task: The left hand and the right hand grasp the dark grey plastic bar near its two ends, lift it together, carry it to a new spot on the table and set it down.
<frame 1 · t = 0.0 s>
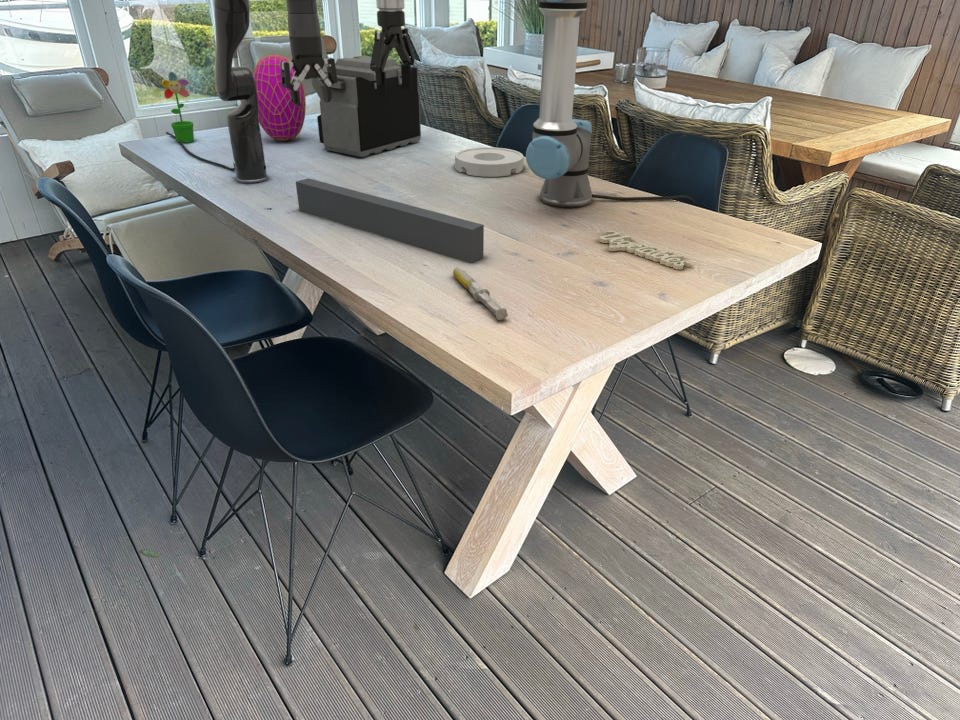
left hand: (312, 103, 174), 29 cm above the table, tool pointing down, fingers open, 8 cm apart
right hand: (394, 93, 197), 28 cm above the table, tool pointing down, fingers open, 13 cm apart
grey tool box: (371, 146, 258), on the table
potted flower: (186, 141, 261), on the table
decorative sign: (639, 252, 168), on the table
bar: (383, 232, 178), on the table
decorative egg: (284, 140, 265), on the table
ashtray: (489, 167, 233), on the table
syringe: (478, 297, 145), on the table
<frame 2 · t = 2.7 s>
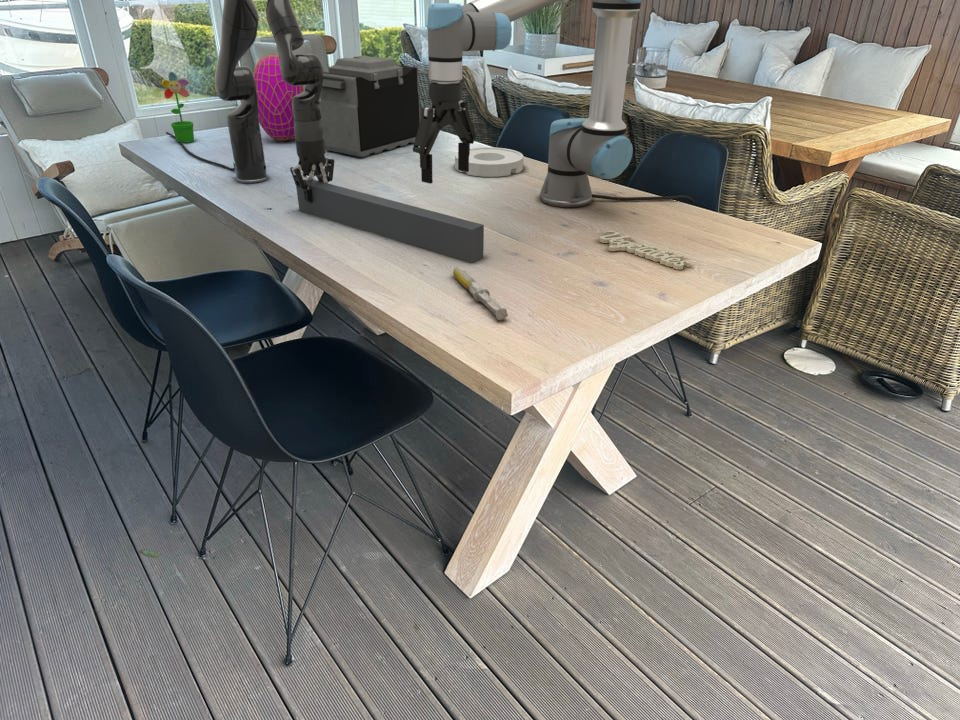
left hand: (316, 199, 190), 4 cm above the table, tool pointing down, fingers closed on bar, 4 cm apart
right hand: (445, 176, 164), 17 cm above the table, tool pointing down, fingers open, 13 cm apart
bar: (383, 232, 178), on the table, touching left hand
everything else where it was.
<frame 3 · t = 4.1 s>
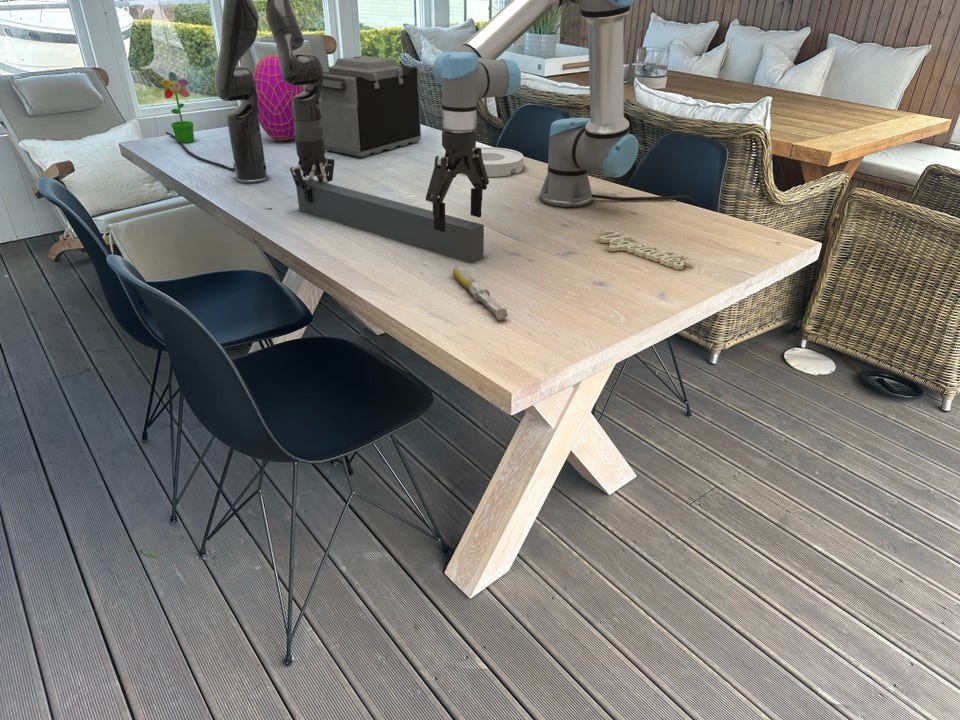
left hand: (316, 199, 190), 4 cm above the table, tool pointing down, fingers closed on bar, 4 cm apart
right hand: (458, 223, 161), 8 cm above the table, tool pointing down, fingers open, 13 cm apart
bar: (383, 232, 178), on the table, touching left hand
everything else where it was.
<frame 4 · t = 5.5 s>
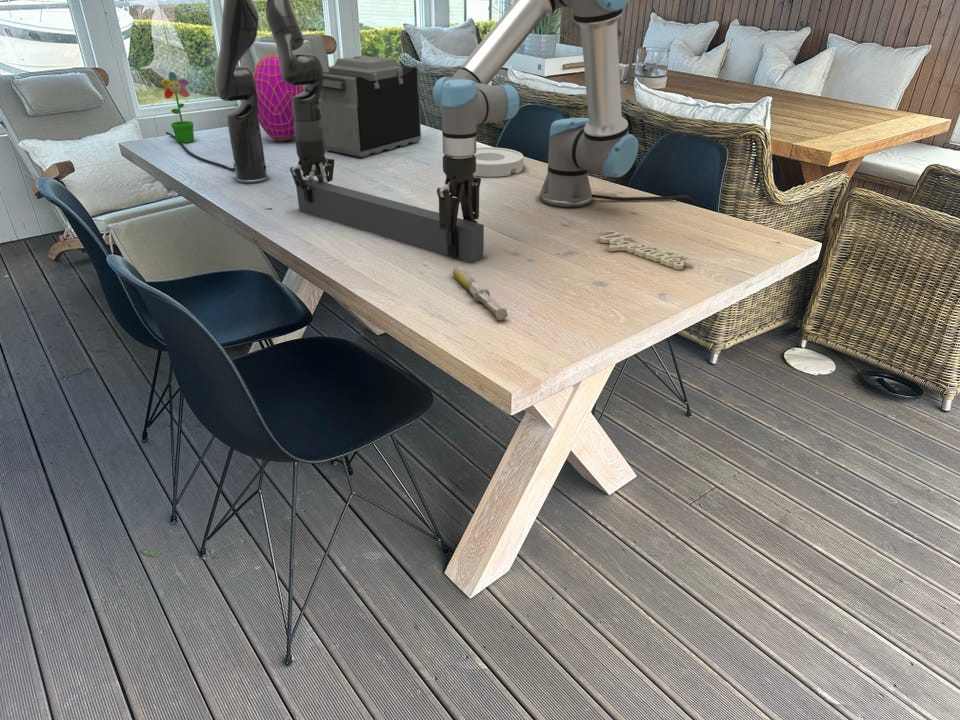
left hand: (316, 199, 190), 4 cm above the table, tool pointing down, fingers closed on bar, 4 cm apart
right hand: (459, 252, 165), 1 cm above the table, tool pointing down, fingers closed on bar, 4 cm apart
bar: (383, 232, 178), on the table, touching right hand, left hand
everything else where it was.
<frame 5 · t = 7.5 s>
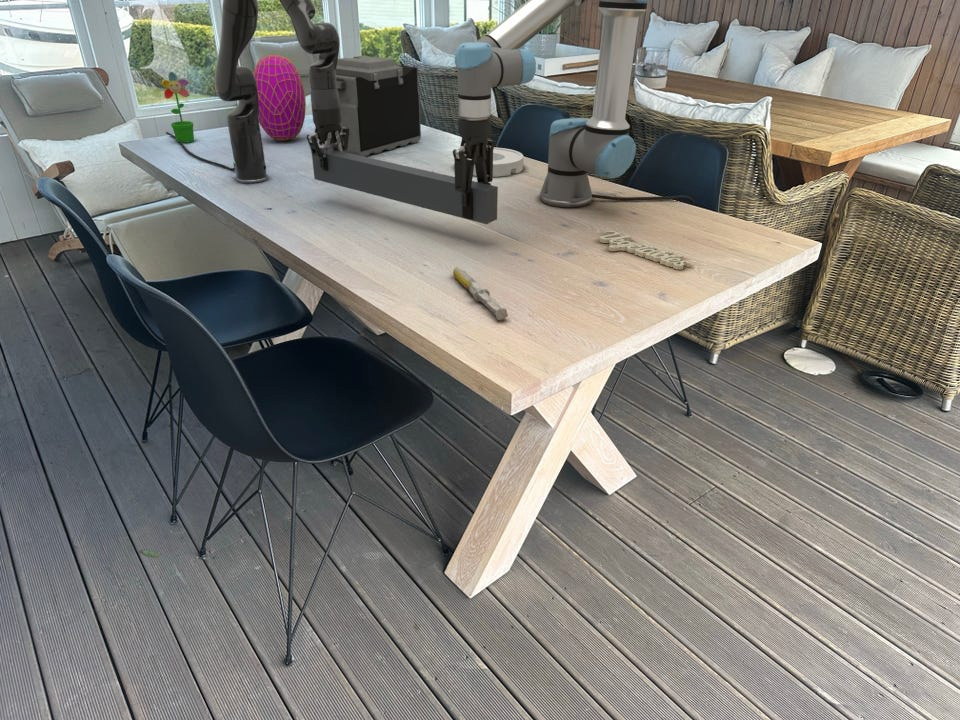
left hand: (331, 168, 194), 10 cm above the table, tool pointing down, fingers closed on bar, 4 cm apart
right hand: (474, 214, 169), 7 cm above the table, tool pointing down, fingers closed on bar, 5 cm apart
bar: (398, 197, 183), point 6 cm above the table, touching right hand, left hand
everything else where it was.
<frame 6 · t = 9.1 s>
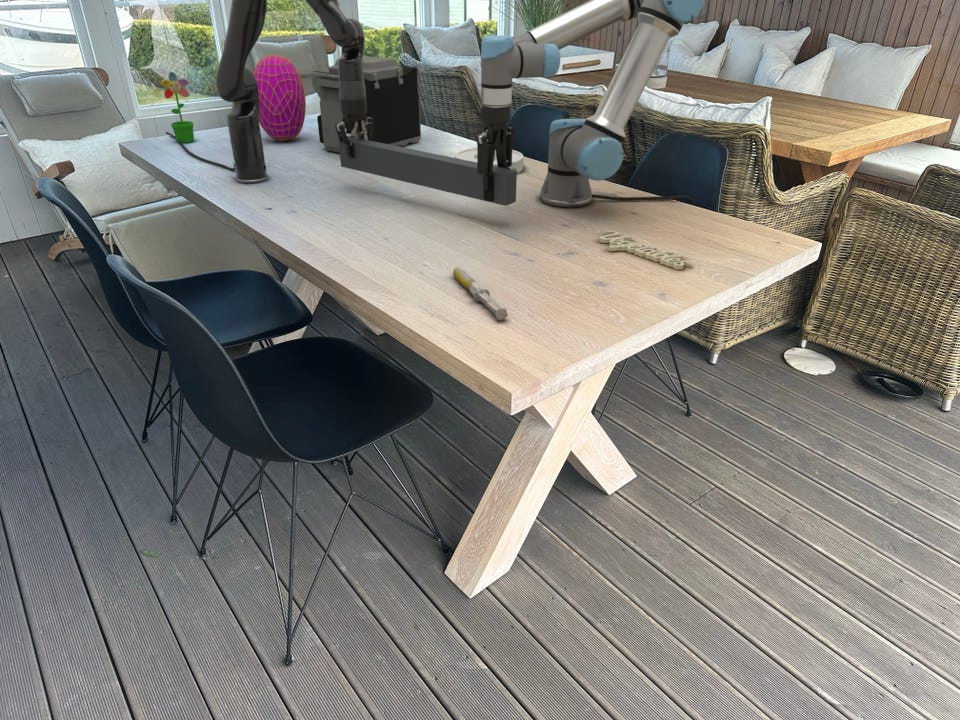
left hand: (357, 156, 205), 10 cm above the table, tool pointing down, fingers closed on bar, 4 cm apart
right hand: (494, 197, 181), 7 cm above the table, tool pointing down, fingers closed on bar, 4 cm apart
bar: (422, 182, 194), point 7 cm above the table, touching right hand, left hand
everything else where it was.
when the right hand's fingers open (2 cm above the table, at t = 10.0 s): bar drops 2 cm, on the table.
when the left hand's fingers open (5 cm above the table, at t = 10.1 s): bar stays where it is, on the table.
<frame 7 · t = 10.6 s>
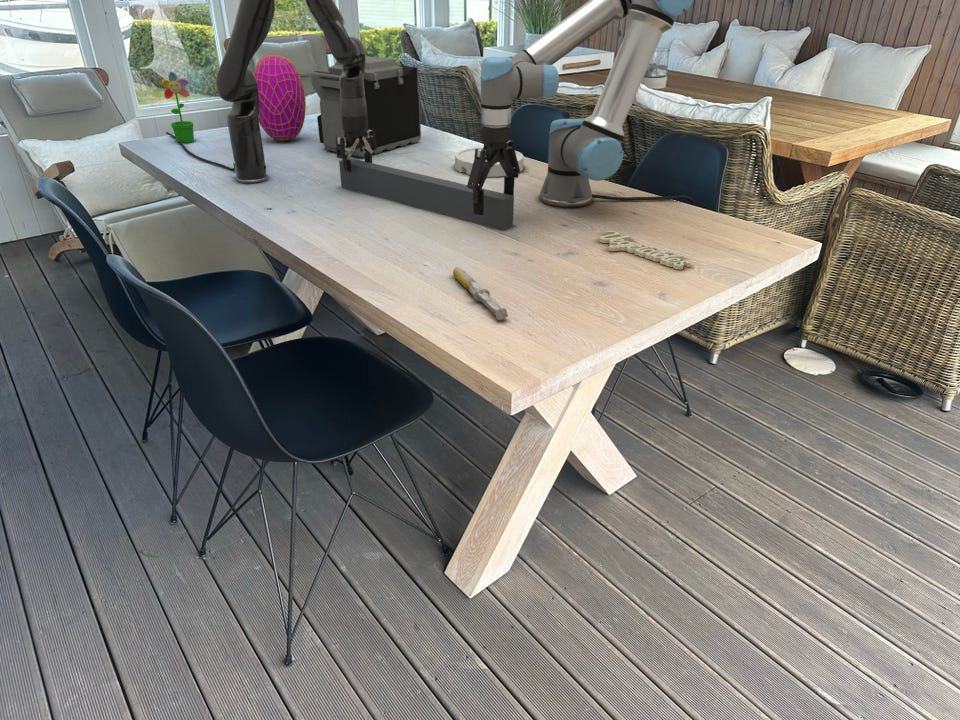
left hand: (358, 168, 208), 6 cm above the table, tool pointing down, fingers open, 8 cm apart
right hand: (493, 207, 182), 5 cm above the table, tool pointing down, fingers open, 13 cm apart
bar: (421, 205, 198), on the table
everything else where it was.
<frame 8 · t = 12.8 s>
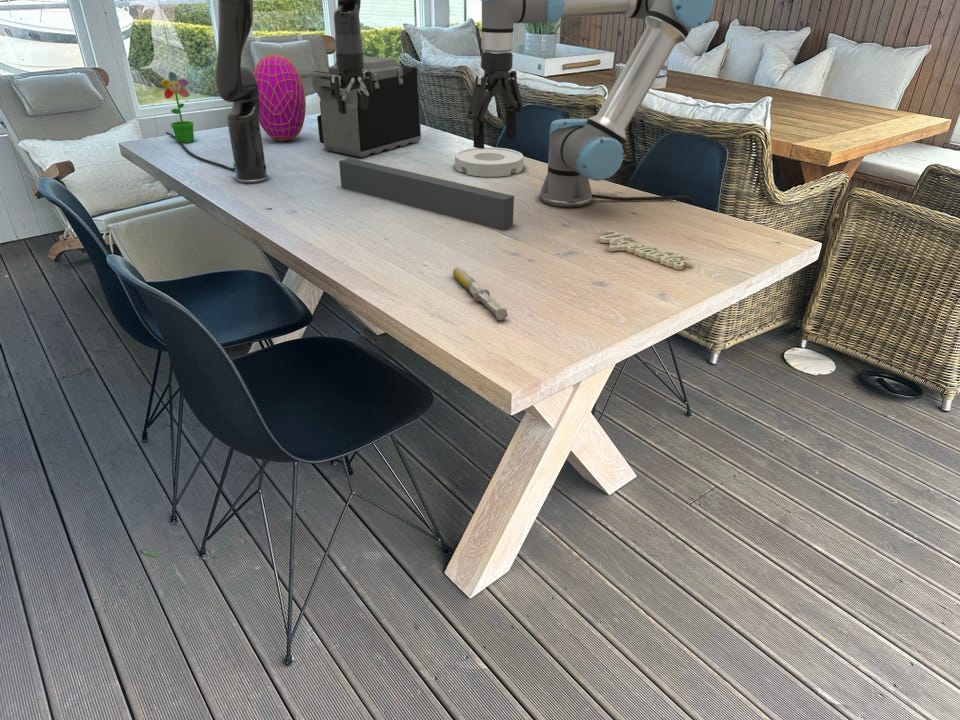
left hand: (353, 111, 199), 23 cm above the table, tool pointing down, fingers open, 8 cm apart
right hand: (495, 143, 174), 21 cm above the table, tool pointing down, fingers open, 13 cm apart
nothing on the table moved.
at the end: bar inside the target area (0.4 cm from its centre), on the table; bar tilted 0°; bar never tilted more than 2° during the clip; both hands held the bar at the same time; the left hand is holding nothing; the right hand is holding nothing; bar at rest at the end (0.0 cm/s) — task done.
